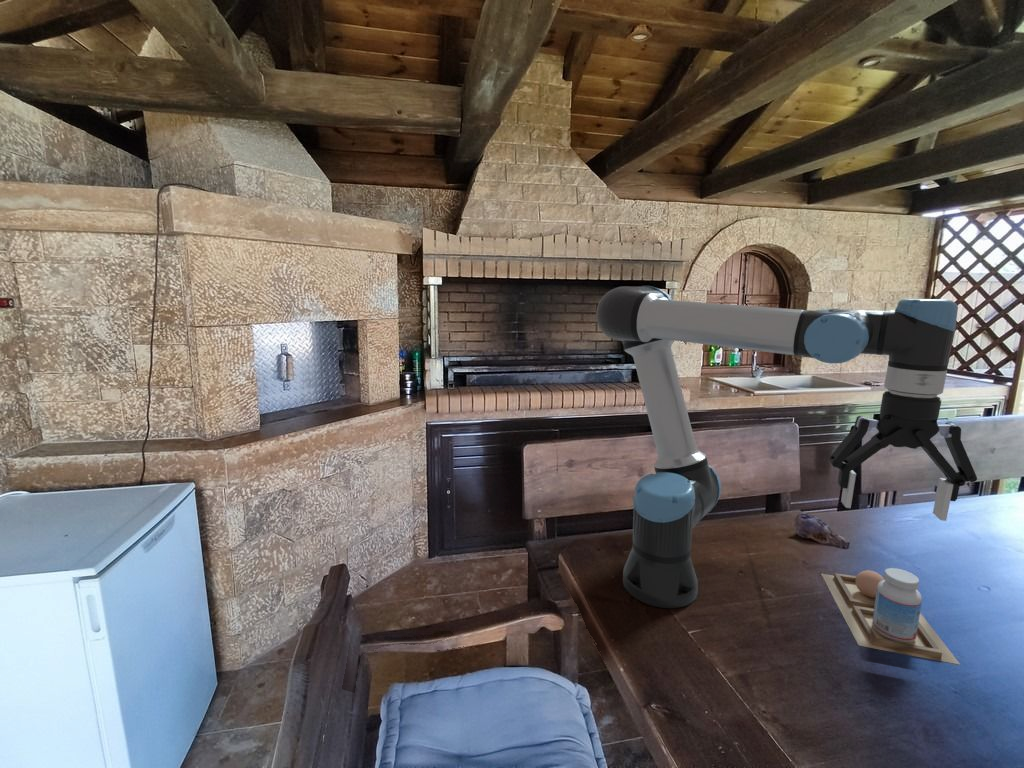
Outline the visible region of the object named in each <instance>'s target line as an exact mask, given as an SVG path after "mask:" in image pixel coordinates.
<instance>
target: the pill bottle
mask: <svg viewBox="0 0 1024 768" xmlns="http://www.w3.org/2000/svg"><path fill="white" fill-rule="evenodd" d="M883 578H884V580H882V581H880V582H879V584H878V586H877V593H876V600H875V607H874V614H873V621H872V624H873V627H874V629H875V630H876V631H877V632H878V633H879V634H881V635H882V636H884V637H886V638H888V639H890V640H893V641H896V642H901V643H911V642H913V641H915V639H916V636H917V629H918V623H919V616H920V613H921V609H922V608H921V607H922V603H923V602H922V601H923V597H922V594H921V592H919V590H918V588H919V586H920V585H919V584H920V579H919V578H918V576H916V575H915V574H913V573H911V572H910V571H907V570H904V569H901V568H896V567H890V568H889V567H888V568H886V569H884V575H883Z"/></svg>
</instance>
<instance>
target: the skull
mask: <svg viewBox="0 0 1024 768" xmlns="http://www.w3.org/2000/svg"><path fill="white" fill-rule="evenodd" d="M793 529H794V530H795V533H797V535H798V536H799V537H802V538H804V539H811V540H813V541H815V542H817V543H819V544H822V545H823V544H825V545H829V546H833V547H839V548H840V549H841V548H842V549H843V547H844V548H846V549H847V548H848V547H850V544H851V541H850V540H849V539H848V538H846V537H843V536H842V535H839V534H838V533H836V532H835V531H834V530H833V529H832V528H831V527H830V526H829V525H828V524H827V523H825V521H824V520H823V519H821V518H820V517H818V516H816V515H812V514H809V513H806V512H799V513H798V514H797V515H796V516H795V517H794V524H793Z"/></svg>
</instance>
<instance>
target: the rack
mask: <svg viewBox="0 0 1024 768" xmlns="http://www.w3.org/2000/svg"><path fill="white" fill-rule="evenodd" d="M820 574H821V578H822V579H823V582H824V583H825V584H826V586H827V588H828V590H829V592H830V594H831V596H832V597H833V600H834V602H835V603H836V605H837V607H838V609H839V611H840V613H841V615H842V617H843V619H844V621H845V622H846V624H847V626H848V628H849V630H850V632H851V634H852V636H853V638H854V639H855V641H856V643H857V645H858V646H860V647H865V648H871V649H875V650H879V651H880V650H881V651H886V652H890V653H896V654H901V655H906V656H911V657H918V658H922V659H928V660H933V661H938V662H944V663H948V664H954V665H958V666H960V665H961V663H960V662H959V661H958V660H957V658H956V657H955V656H954V654H953V653H952V652H951V650H950V649H949V648H948V646H946V644H945V643H944V642H943V641H944V640H942V639H941V637H940V636H939V634H937V632H936V631H935V629H934V628H933V627H932V626H931V625H930V623H929V622H928V621H927V620H926V618H925V617H924V615H923V614H922V613H921V612H920V616H919V623H918V629H917V636H916V639H915V641H913V642H911V643H901V642H896V641H893V640H890V639H888V638H886V637H884V636H882V635H881V634H879V633H878V632H877V631H876V630H875V629H874V627H873V624H872V621H873V614H874V607H875V600H876V598H872V597H869V596H866V595H864V594H863V593H862V592H861V591H860V590H859V589H858V588H857V586H856V576H857V575H851V574H850V575H849V574H844V573H836V572H834V573H833V575H832V574H826V573H820Z"/></svg>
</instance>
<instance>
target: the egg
mask: <svg viewBox="0 0 1024 768" xmlns="http://www.w3.org/2000/svg"><path fill="white" fill-rule="evenodd" d="M855 576H856V586H857V588H858V589H859V590H860V591H861V592H862V593H863V594H864V595H866V596H869V597H872V598H876V593H877V586H878V584H879V582H880V581H882V580H885V579H884V576H882V575H881V574H879V573H878V572H876V571H873V570H867V569H866V570H863V571H860V572H859V573H857V575H855Z"/></svg>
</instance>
